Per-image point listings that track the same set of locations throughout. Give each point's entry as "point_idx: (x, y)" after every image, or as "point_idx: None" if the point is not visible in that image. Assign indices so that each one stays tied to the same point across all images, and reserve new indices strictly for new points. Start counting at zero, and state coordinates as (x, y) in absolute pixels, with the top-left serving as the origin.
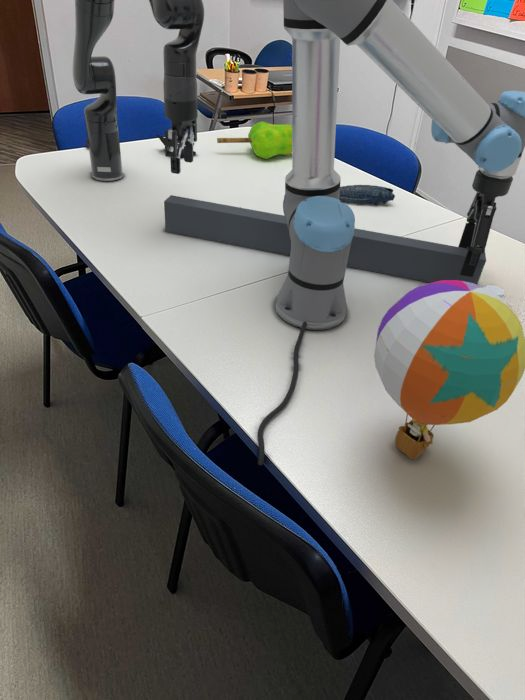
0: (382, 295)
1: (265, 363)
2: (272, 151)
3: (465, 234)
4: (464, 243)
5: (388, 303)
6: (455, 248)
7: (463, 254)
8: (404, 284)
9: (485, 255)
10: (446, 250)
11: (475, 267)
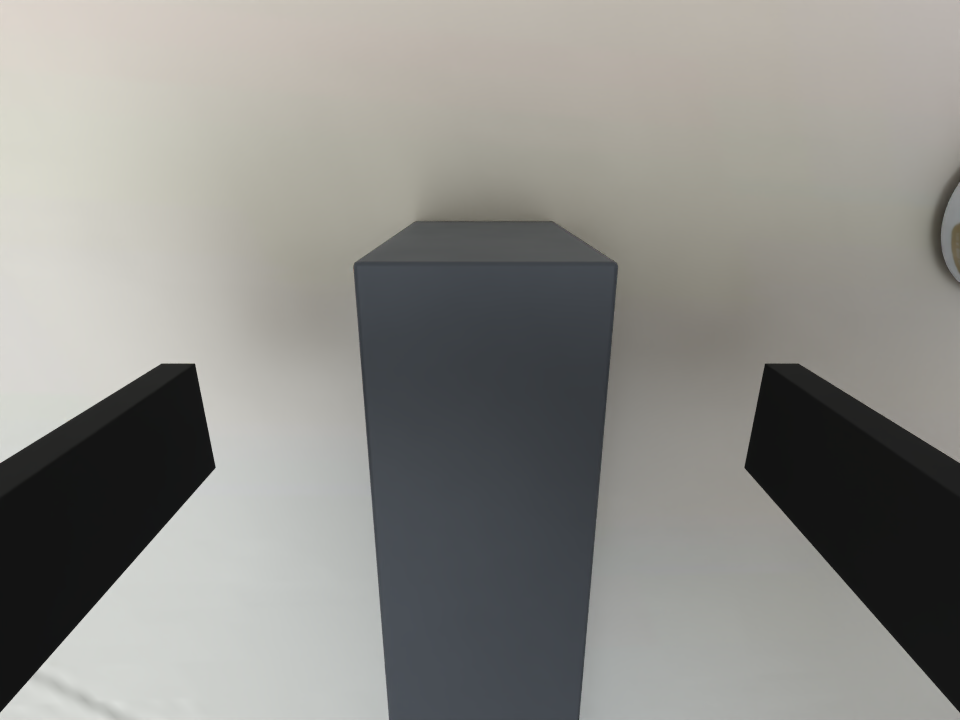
0: (759, 709)
1: None
2: None
3: (101, 558)
4: (173, 465)
5: (833, 683)
6: (432, 590)
7: (555, 522)
8: (612, 626)
9: (470, 264)
10: (524, 667)
11: (876, 418)
